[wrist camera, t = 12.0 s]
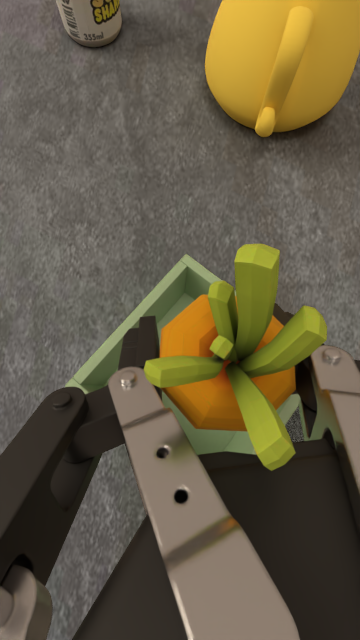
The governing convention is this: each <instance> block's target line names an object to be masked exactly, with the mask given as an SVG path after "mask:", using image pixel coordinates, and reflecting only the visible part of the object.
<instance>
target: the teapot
mask: <svg viewBox="0 0 360 640" xmlns="http://www.w3.org/2000/svg"><path fill="white" fill-rule="evenodd" d="M359 51H360V0H222V3H221V5H220V8H219V10H218V13H217V15H216V18H215V21H214V24H213V27H212V30H211V34H210V38H209V42H208V46H207V52H206V60H205V73H206V77H207V82H208V85H209V88H210V90H211V92H212V94H213V95H214V97H215V99H216V100H217V102H218V103H219V105H220V106H221V107H222V109H223V110H224V111H225V112H226V113H227V114H228V115H229V116H230V117H231V118H232V119H234V120H235V121H237V122H238V123H240V124H242V125H244V126H246V127H249V128H252V129H255V131H256V133H257V134H258V135H259V136H261V137H268V136H270V135H271V134H272V132H285V131H291V130H294V129H297V128H299V127H302V126H304V125H307V124H309V123H311V122H313V121H315V120H317V119H319V118H320V117H322V116H323V115H325V114H326V113H327V112H328V111H330V110H331V109H332V108H333V107H334V106H335V104H336V103H337V102H338V101H339V99H340V98H341V96H342V94H343V92H344V91H345V89H346V87H347V85H348V83H349V80H350V77H351V75H352V72H353V70H354V67H355V64H356V61H357V58H358V55H359Z"/></svg>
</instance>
